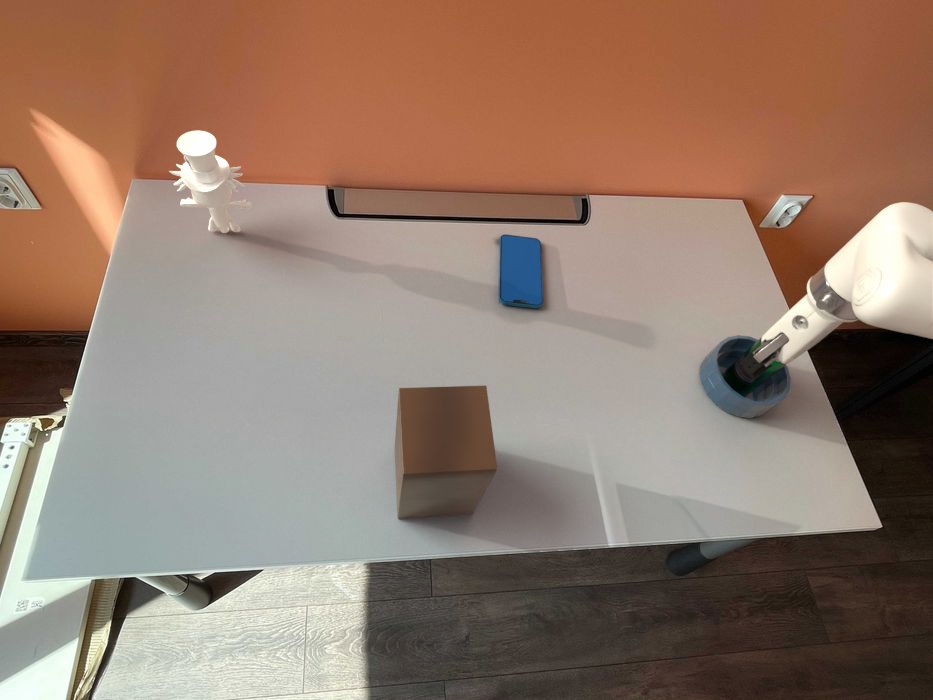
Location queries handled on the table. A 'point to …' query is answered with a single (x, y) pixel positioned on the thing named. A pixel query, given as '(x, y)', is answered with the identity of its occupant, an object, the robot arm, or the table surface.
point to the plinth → (442, 450)
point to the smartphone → (520, 271)
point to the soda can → (742, 380)
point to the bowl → (725, 395)
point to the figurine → (208, 179)
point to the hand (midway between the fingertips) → (760, 361)
